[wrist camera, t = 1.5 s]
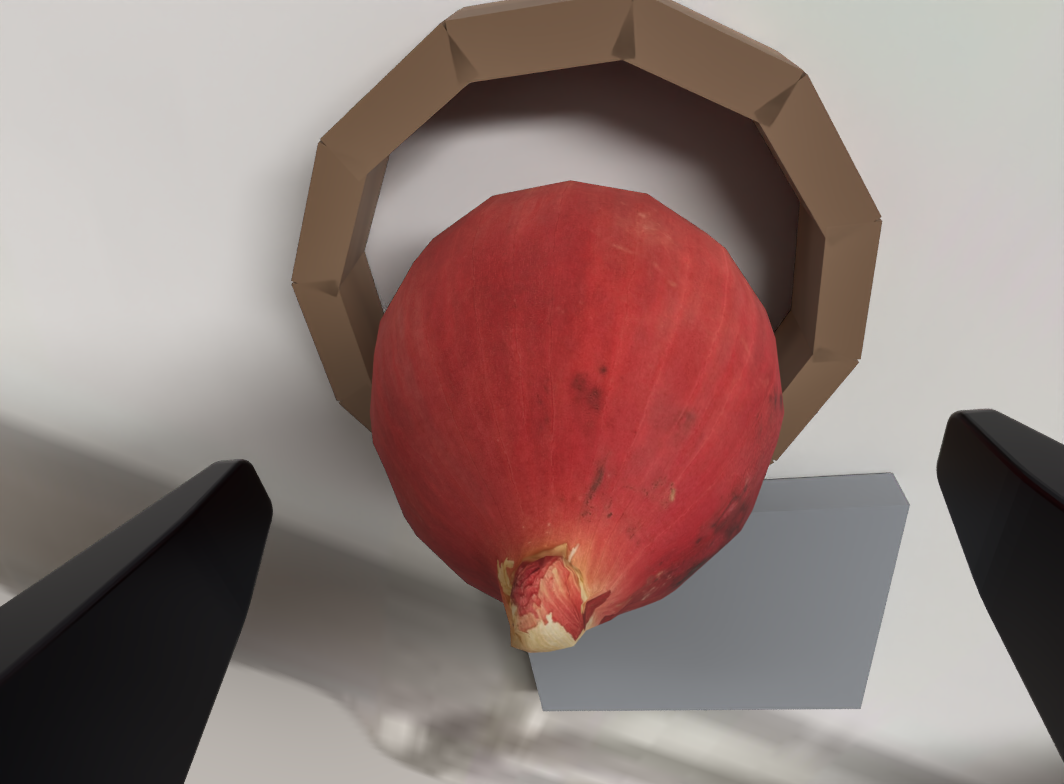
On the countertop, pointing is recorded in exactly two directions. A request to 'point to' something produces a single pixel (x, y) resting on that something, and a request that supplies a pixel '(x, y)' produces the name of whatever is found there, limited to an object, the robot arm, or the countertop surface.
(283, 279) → the countertop surface
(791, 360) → the ring
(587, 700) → the slate tile
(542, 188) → the onion
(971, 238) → the countertop surface
